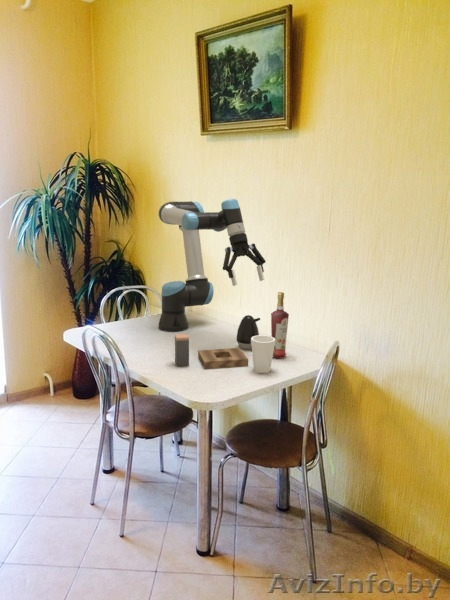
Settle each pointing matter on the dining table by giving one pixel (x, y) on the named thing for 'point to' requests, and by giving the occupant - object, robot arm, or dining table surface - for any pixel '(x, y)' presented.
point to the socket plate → (222, 358)
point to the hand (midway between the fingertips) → (248, 282)
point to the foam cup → (262, 352)
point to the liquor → (279, 328)
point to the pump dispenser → (247, 332)
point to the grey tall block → (181, 350)
